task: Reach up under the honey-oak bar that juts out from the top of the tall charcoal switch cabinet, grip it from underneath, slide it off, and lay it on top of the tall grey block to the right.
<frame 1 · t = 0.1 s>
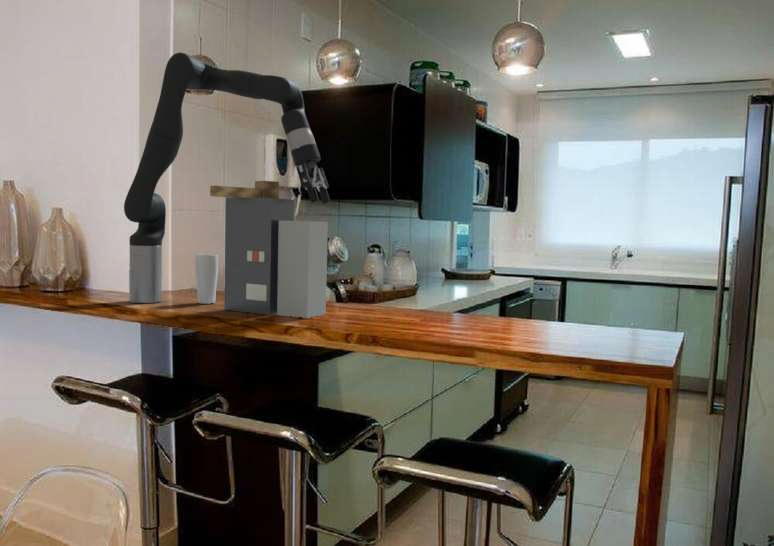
hand: (321, 202, 180), 31 cm above the breakfast bar, tool tilted 20°, fingers open, 8 cm apart
oak bar: (242, 197, 180), point 32 cm above the breakfast bar, touching switch cabinet
grey tall block: (301, 314, 180), on the breakfast bar
drinking glass: (206, 303, 198), on the breakfast bar
switch cabinet: (258, 310, 185), on the breakfast bar
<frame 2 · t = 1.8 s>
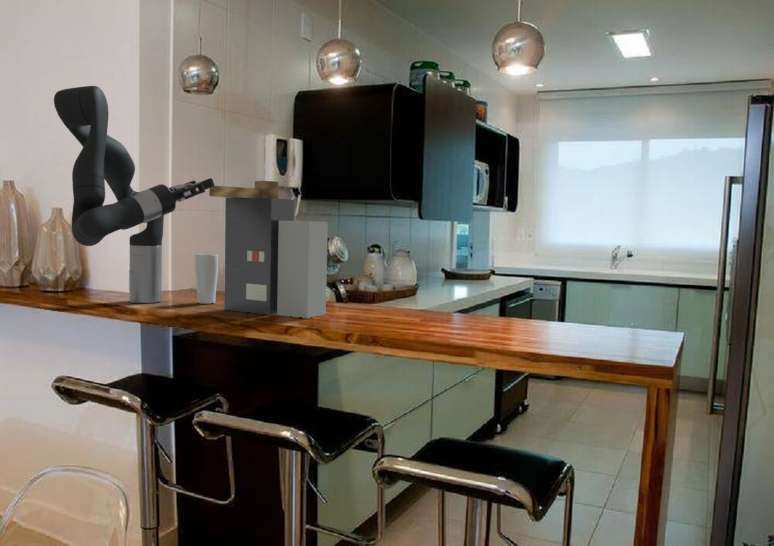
hand: (204, 182, 174), 35 cm above the breakfast bar, tool pointing upward, fingers open, 8 cm apart
nothing on the breakfast bar moved.
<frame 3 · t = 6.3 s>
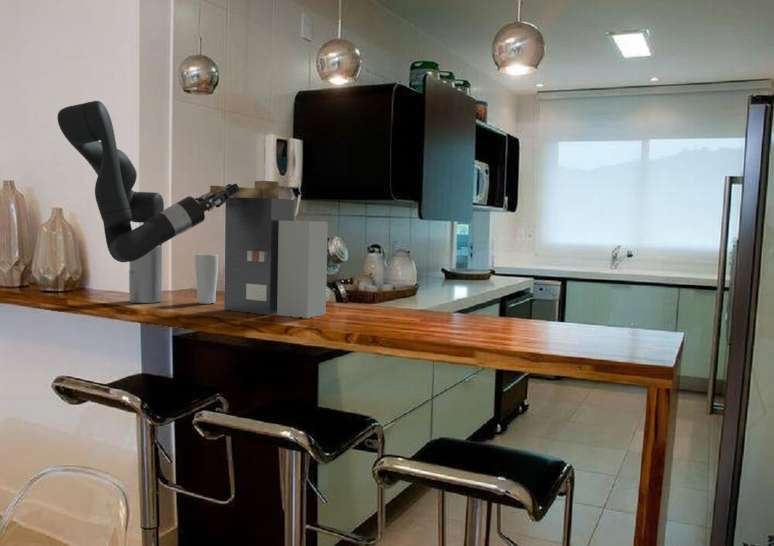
hand: (234, 186, 179), 35 cm above the breakfast bar, tool pointing upward, fingers closed on oak bar, 2 cm apart
oak bar: (242, 197, 180), point 32 cm above the breakfast bar, touching gripper, switch cabinet
everything else where it was.
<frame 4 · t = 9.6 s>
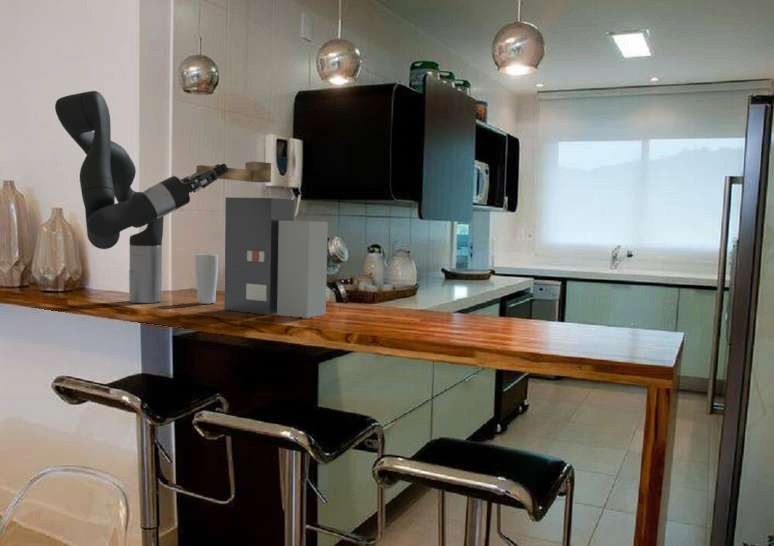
hand: (223, 167, 167), 39 cm above the breakfast bar, tool pointing upward, fingers closed on oak bar, 3 cm apart
oak bar: (231, 179, 168), point 36 cm above the breakfast bar, touching gripper
everything else where it was.
when the fingers open (29 cm above the breakfast bar, at t = 13.0 s): oak bar stays where it is, resting on grey tall block.
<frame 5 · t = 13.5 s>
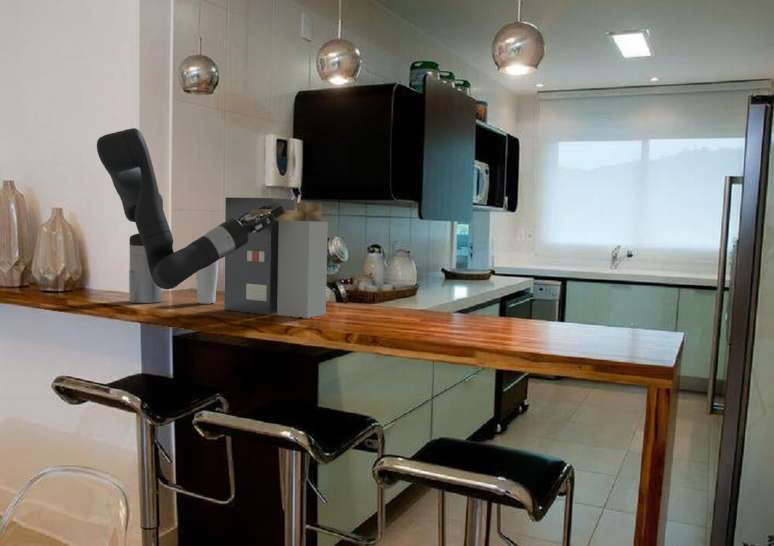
hand: (274, 208, 172), 29 cm above the breakfast bar, tool pointing upward, fingers open, 8 cm apart
oak bar: (285, 220, 174), point 26 cm above the breakfast bar, touching grey tall block
everything else where it was.
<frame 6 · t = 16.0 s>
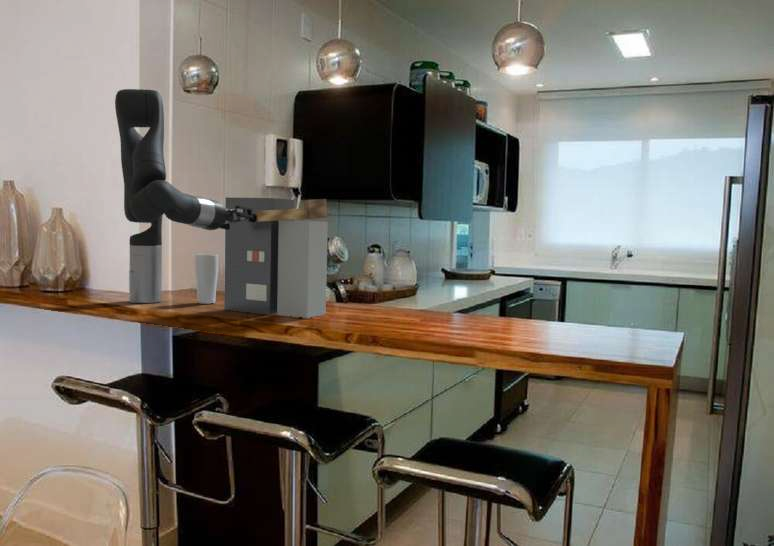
hand: (241, 222, 174), 25 cm above the breakfast bar, tool horizontal, fingers open, 8 cm apart
oak bar: (289, 219, 175), point 26 cm above the breakfast bar, tilted 6°
everything else where it was.
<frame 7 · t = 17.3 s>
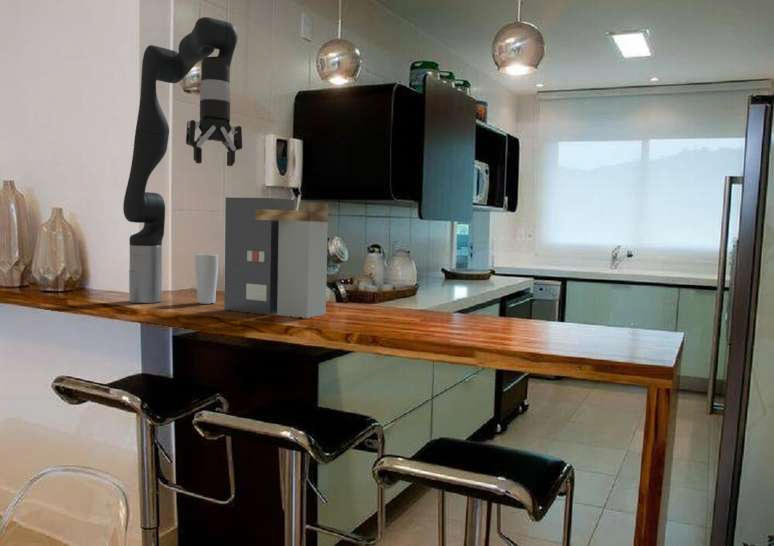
hand: (214, 164, 166), 40 cm above the breakfast bar, tool pointing down, fingers open, 8 cm apart
oak bar: (289, 220, 175), point 26 cm above the breakfast bar, touching grey tall block
everything else where it was.
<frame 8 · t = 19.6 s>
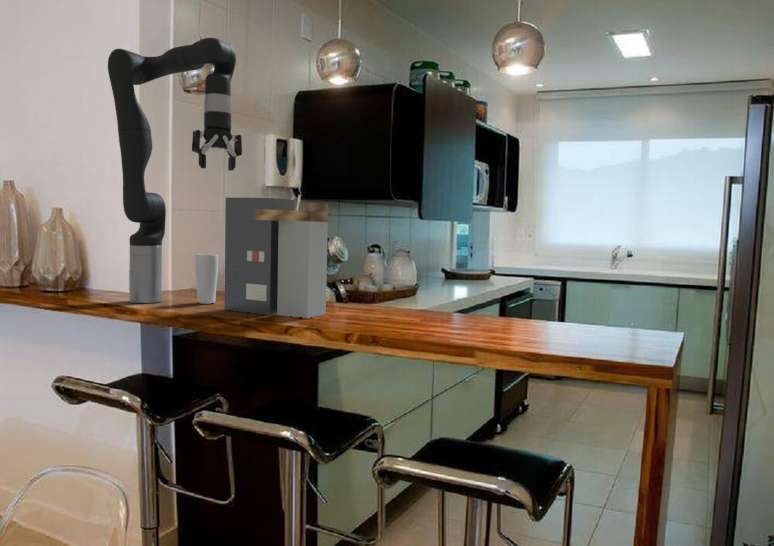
hand: (217, 169, 185), 40 cm above the breakfast bar, tool pointing down, fingers open, 8 cm apart
nothing on the breakfast bar moved.
at the end: oak bar inside the target area (1.2 cm from its centre), point 26.0 cm above the breakfast bar; the gripper is holding nothing; oak bar touching grey tall block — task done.
